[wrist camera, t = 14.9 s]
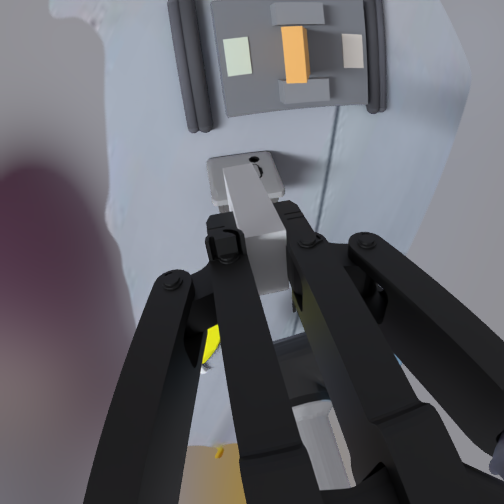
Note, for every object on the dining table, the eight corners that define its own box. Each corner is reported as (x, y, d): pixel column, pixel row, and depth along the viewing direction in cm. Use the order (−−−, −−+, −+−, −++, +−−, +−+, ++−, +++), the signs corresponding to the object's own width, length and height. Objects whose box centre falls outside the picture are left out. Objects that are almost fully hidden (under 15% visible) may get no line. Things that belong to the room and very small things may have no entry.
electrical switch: (269, 149, 46) (286, 179, 39) (270, 179, 49) (286, 213, 42) (205, 158, 45) (209, 189, 38) (209, 188, 48) (215, 224, 42)
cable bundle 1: (213, 129, 43) (214, 132, 41) (189, 133, 42) (189, 137, 41) (193, -7, 31) (193, -9, 29) (166, -2, 30) (165, -4, 29)
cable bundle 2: (382, 112, 45) (389, 115, 43) (364, 112, 44) (370, 115, 43) (377, -8, 33) (384, -9, 31) (357, -10, 32) (364, -12, 31)
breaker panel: (358, 100, 43) (376, 107, 39) (225, 113, 42) (230, 121, 37) (352, 1, 34) (371, -3, 29) (210, 4, 32) (213, -3, 28)
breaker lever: (310, 75, 37) (307, 85, 28) (295, 75, 37) (286, 86, 29) (306, 27, 33) (301, 23, 24) (290, 28, 33) (280, 24, 25)
